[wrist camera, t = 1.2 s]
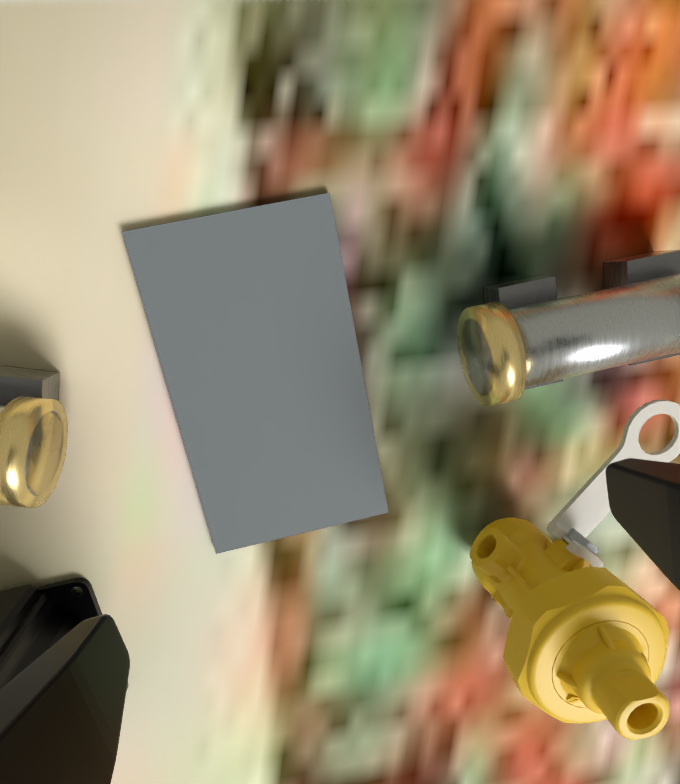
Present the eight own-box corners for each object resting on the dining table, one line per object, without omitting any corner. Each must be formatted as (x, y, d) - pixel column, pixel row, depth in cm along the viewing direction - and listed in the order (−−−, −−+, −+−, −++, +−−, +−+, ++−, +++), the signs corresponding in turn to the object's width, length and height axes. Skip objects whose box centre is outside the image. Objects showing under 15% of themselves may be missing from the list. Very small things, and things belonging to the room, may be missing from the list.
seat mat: (387, 509, 23) (388, 512, 23) (216, 549, 22) (216, 553, 22) (328, 193, 19) (329, 192, 19) (124, 232, 19) (121, 231, 18)
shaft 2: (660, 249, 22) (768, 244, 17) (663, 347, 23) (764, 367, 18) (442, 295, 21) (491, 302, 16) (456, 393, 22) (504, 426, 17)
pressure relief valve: (422, 547, 24) (523, 739, 14) (593, 354, 22) (834, 417, 13) (500, 603, 25) (642, 813, 15) (666, 424, 24) (934, 529, 14)
